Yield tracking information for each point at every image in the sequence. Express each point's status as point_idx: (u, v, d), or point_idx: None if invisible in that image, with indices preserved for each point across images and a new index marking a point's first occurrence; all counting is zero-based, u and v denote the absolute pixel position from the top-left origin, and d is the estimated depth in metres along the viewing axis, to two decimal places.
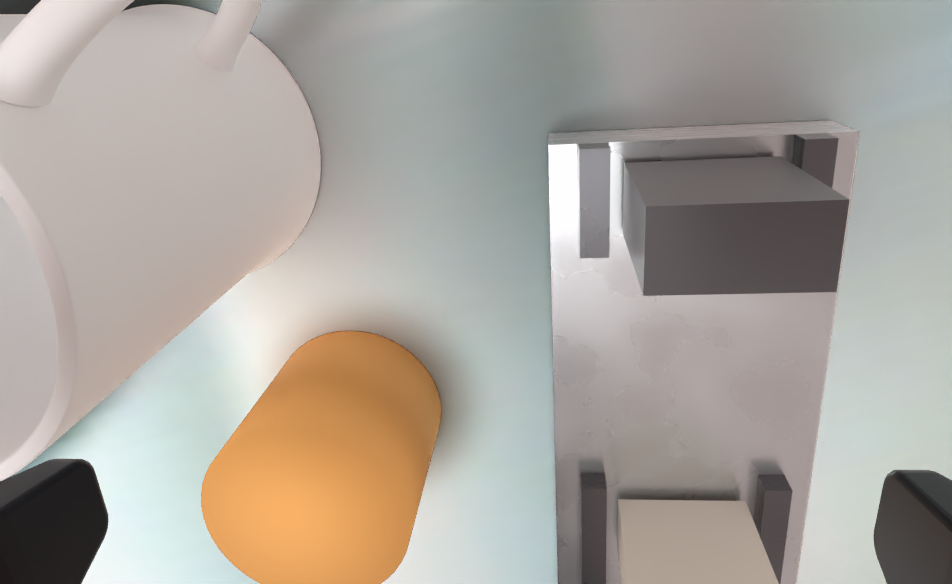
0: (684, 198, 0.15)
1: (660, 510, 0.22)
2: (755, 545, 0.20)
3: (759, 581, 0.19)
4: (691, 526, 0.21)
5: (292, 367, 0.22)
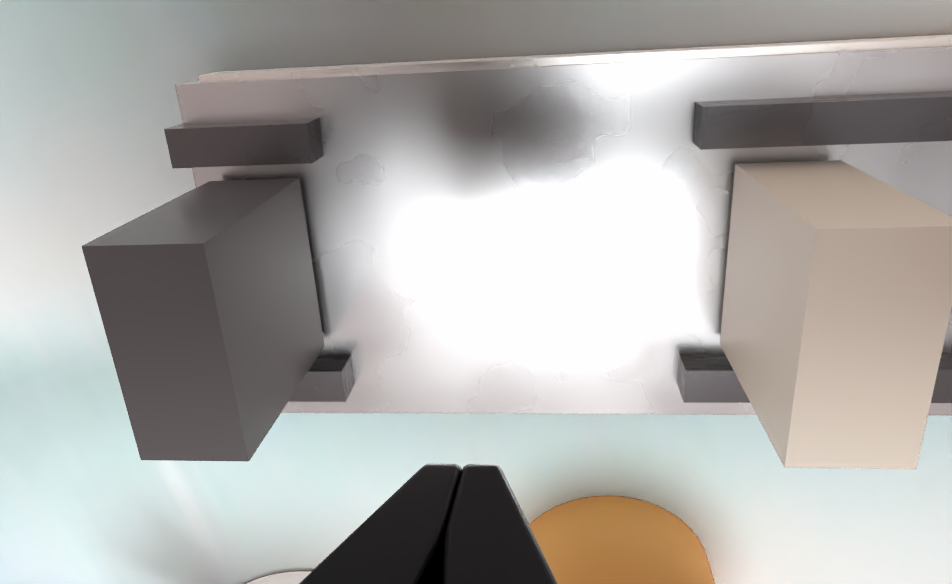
0: None
1: (730, 299, 0.14)
2: (762, 200, 0.12)
3: (787, 238, 0.11)
4: (743, 274, 0.13)
5: None
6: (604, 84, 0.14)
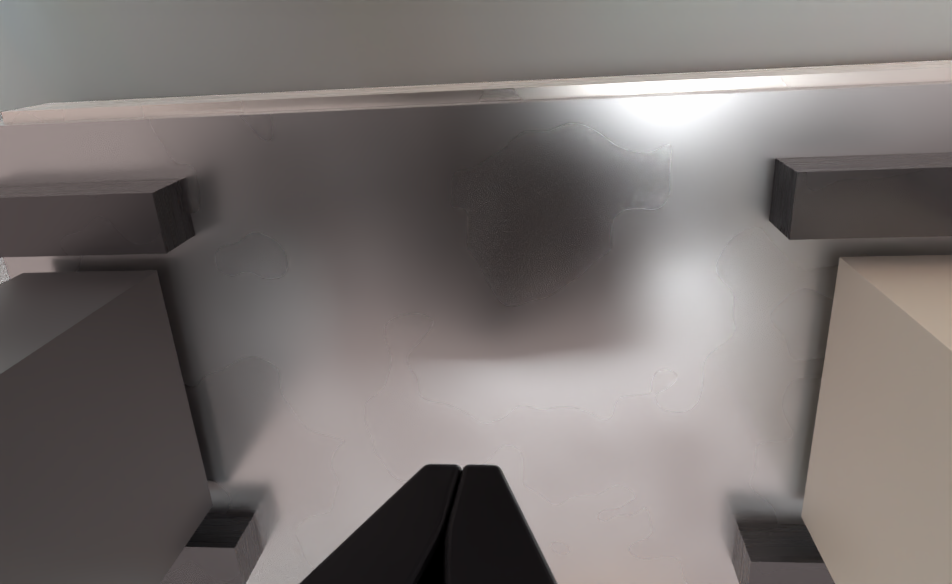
0: None
1: (825, 464, 0.09)
2: (914, 345, 0.07)
3: None
4: (858, 442, 0.08)
5: None
6: (629, 130, 0.09)
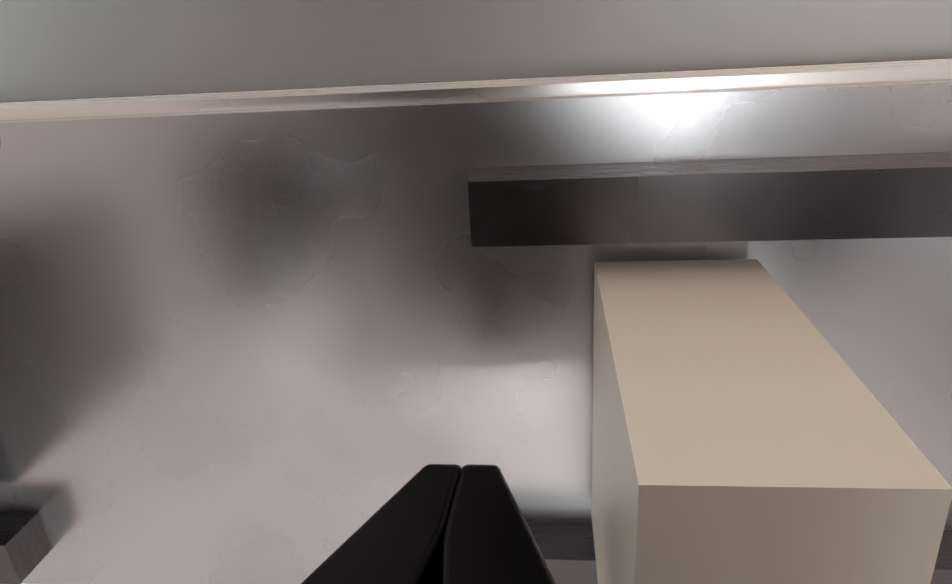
0: None
1: (594, 464, 0.09)
2: (606, 349, 0.07)
3: (621, 449, 0.06)
4: (600, 442, 0.08)
5: None
6: (334, 140, 0.09)
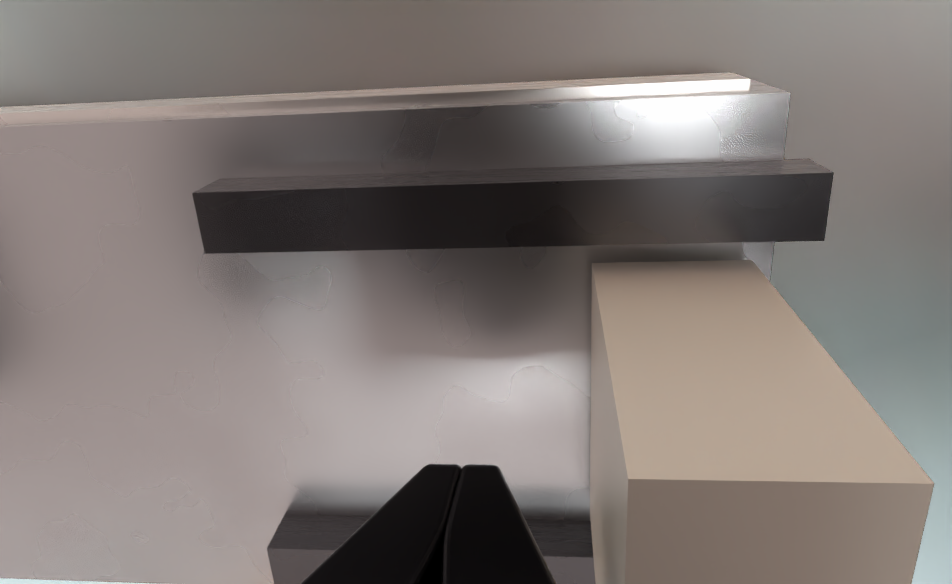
0: None
1: (592, 462, 0.10)
2: (601, 348, 0.07)
3: (614, 445, 0.06)
4: (597, 440, 0.09)
5: None
6: (90, 152, 0.09)
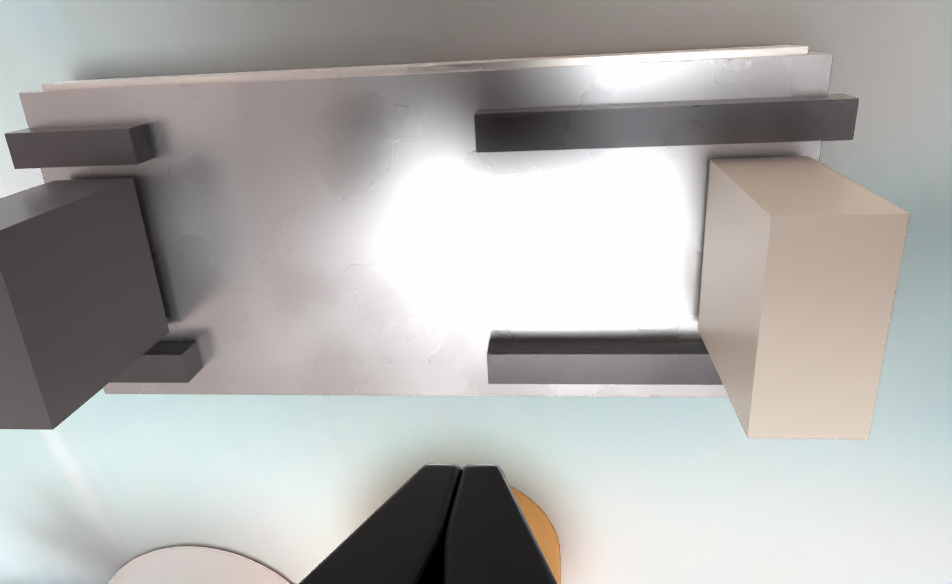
0: None
1: (705, 286, 0.15)
2: (731, 192, 0.13)
3: (750, 226, 0.12)
4: (716, 262, 0.14)
5: None
6: (396, 93, 0.15)
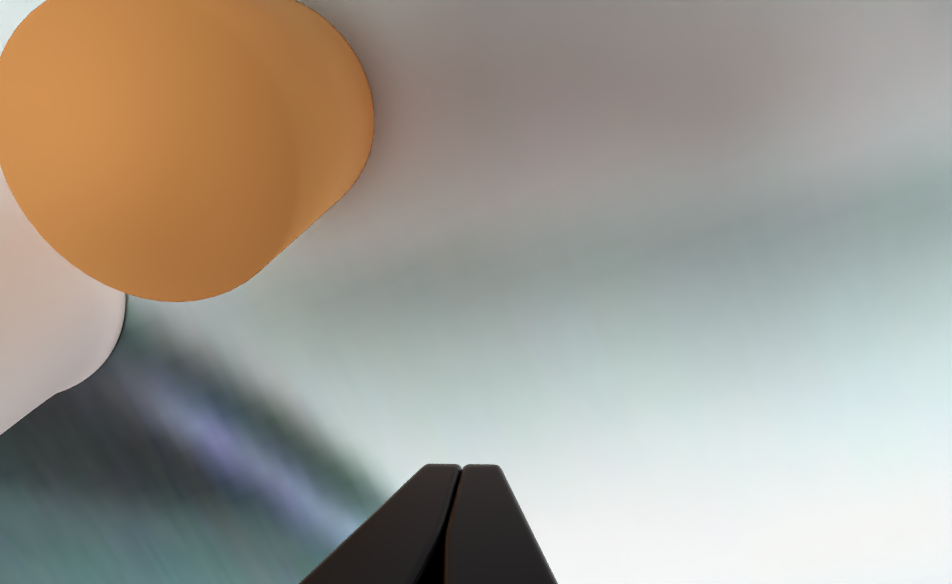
0: None
1: None
2: None
3: None
4: None
5: None
6: None
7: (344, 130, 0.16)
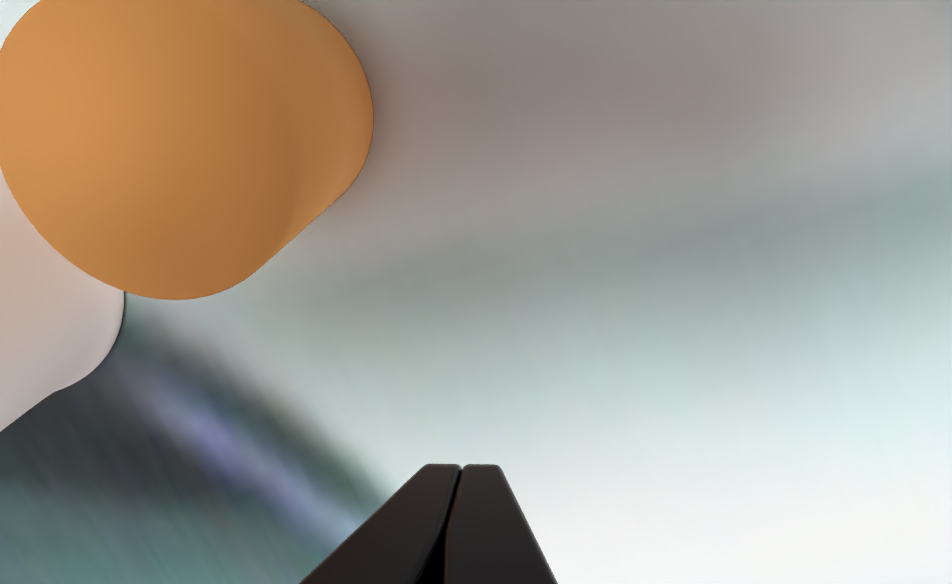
0: None
1: None
2: None
3: None
4: None
5: None
6: None
7: (343, 129, 0.16)
